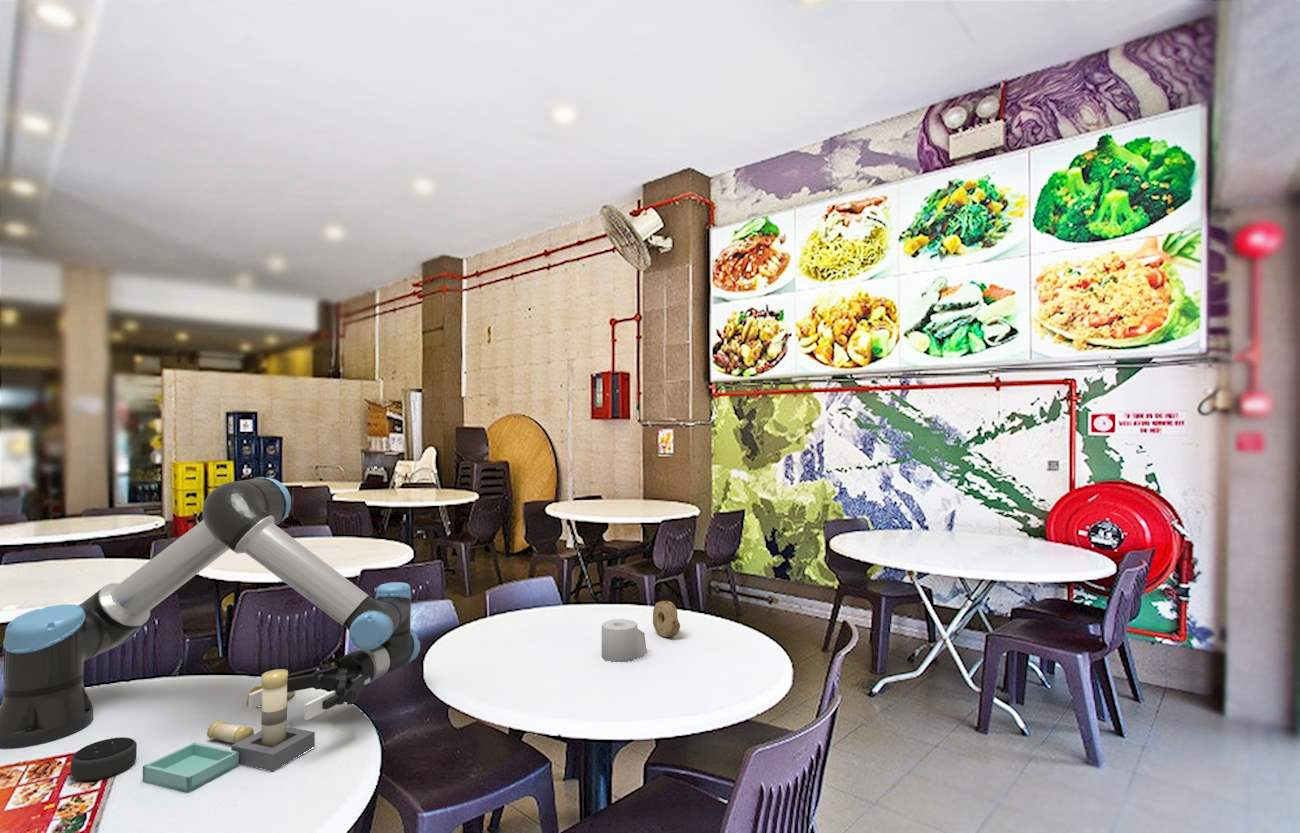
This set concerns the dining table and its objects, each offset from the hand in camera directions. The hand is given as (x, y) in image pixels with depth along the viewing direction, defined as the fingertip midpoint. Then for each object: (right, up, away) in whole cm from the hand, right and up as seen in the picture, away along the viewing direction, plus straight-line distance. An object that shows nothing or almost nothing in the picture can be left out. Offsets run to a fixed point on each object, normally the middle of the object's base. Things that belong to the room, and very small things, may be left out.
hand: (277, 706), depth 120 cm
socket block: (-1, -9, 0) cm, 9 cm away
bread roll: (-15, -10, +25) cm, 31 cm away
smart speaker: (-28, -9, -5) cm, 30 cm away
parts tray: (-11, -9, -7) cm, 16 cm away
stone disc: (+74, -11, +69) cm, 102 cm away
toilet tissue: (+62, -10, +52) cm, 82 cm away
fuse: (-12, -9, +5) cm, 16 cm away
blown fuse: (-1, -9, 0) cm, 9 cm away
